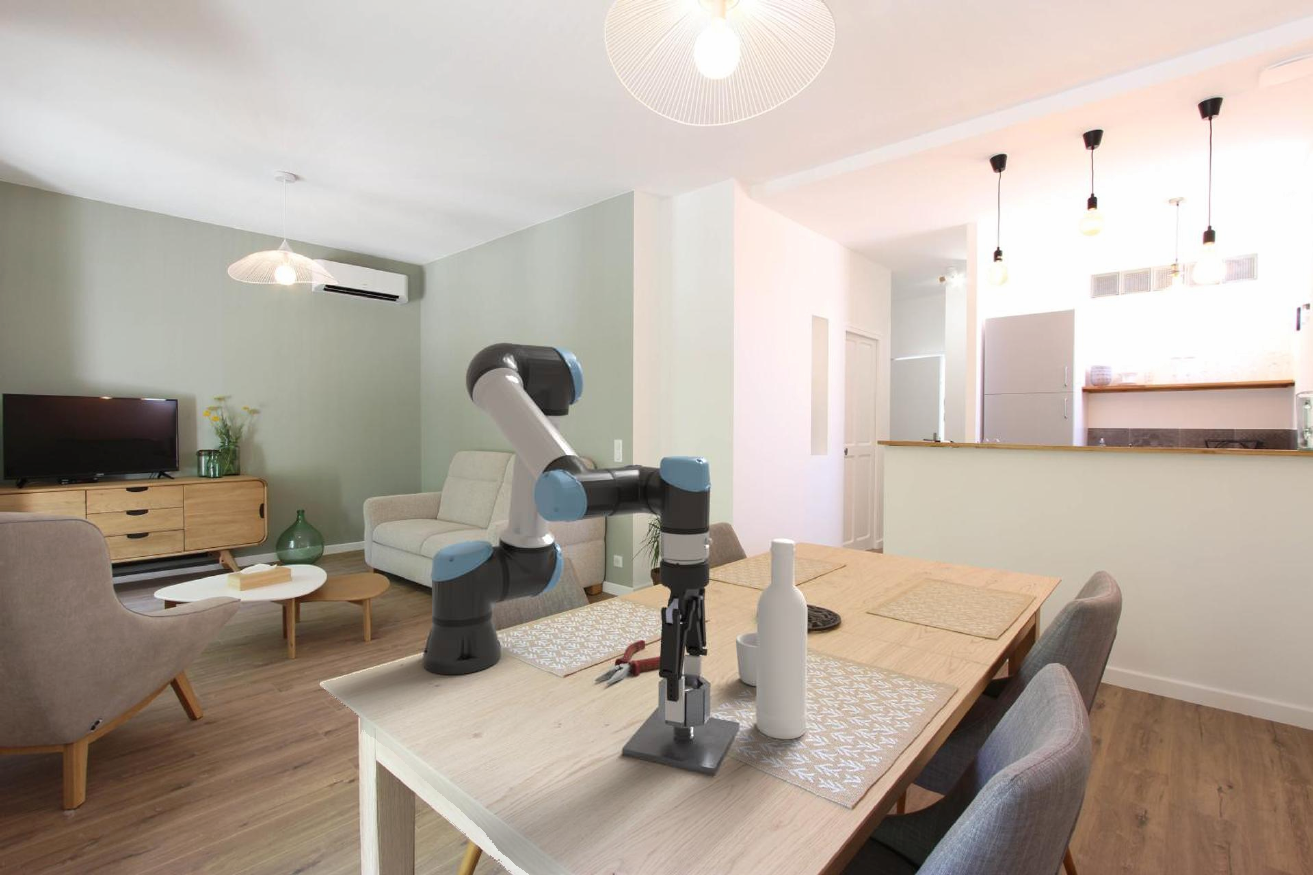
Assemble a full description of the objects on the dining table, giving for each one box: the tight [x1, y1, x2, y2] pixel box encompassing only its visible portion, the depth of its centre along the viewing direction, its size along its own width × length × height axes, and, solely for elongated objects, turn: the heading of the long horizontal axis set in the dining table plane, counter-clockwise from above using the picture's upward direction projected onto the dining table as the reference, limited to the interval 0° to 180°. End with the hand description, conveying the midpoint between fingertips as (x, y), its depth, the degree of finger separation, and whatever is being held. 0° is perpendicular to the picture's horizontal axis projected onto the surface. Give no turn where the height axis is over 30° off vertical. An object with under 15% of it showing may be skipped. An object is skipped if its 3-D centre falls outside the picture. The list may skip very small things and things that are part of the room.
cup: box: [735, 632, 757, 687], centre depth 115 cm, size 11×8×8 cm
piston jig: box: [621, 685, 741, 777], centre depth 94 cm, size 14×14×8 cm
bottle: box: [755, 538, 808, 740], centre depth 98 cm, size 8×8×30 cm
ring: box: [657, 673, 711, 728], centre depth 94 cm, size 7×7×5 cm
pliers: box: [594, 640, 660, 685], centre depth 122 cm, size 12×20×3 cm, turn 146°
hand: (684, 707), depth 94 cm, fingers closed on ring, 7 cm apart
